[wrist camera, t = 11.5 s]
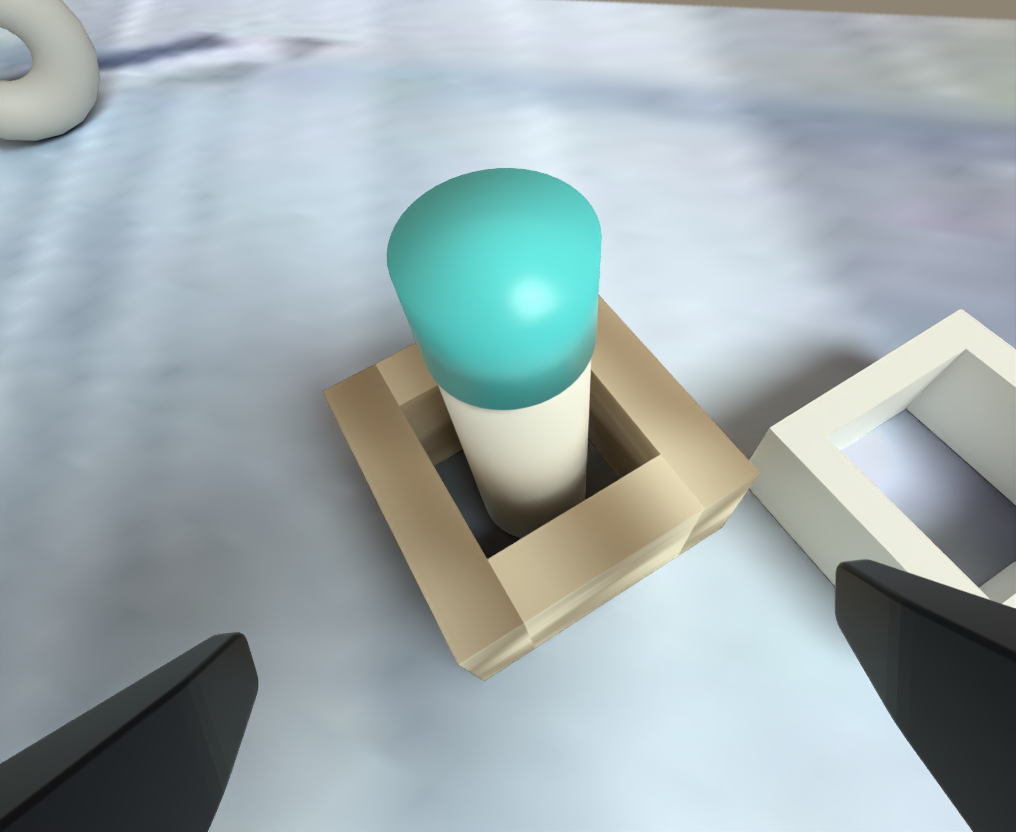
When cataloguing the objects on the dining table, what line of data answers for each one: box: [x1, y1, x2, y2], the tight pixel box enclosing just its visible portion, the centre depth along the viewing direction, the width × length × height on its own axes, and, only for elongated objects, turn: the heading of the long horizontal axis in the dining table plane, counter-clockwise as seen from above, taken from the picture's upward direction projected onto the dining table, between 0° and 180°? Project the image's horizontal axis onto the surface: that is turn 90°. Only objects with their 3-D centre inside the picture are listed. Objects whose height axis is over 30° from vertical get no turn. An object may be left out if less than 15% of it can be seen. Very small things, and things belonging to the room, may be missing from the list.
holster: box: [749, 309, 1016, 608], centre depth 19 cm, size 8×8×4 cm
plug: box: [387, 168, 602, 538], centre depth 17 cm, size 4×4×13 cm
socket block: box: [323, 295, 760, 681], centre depth 20 cm, size 10×10×5 cm
